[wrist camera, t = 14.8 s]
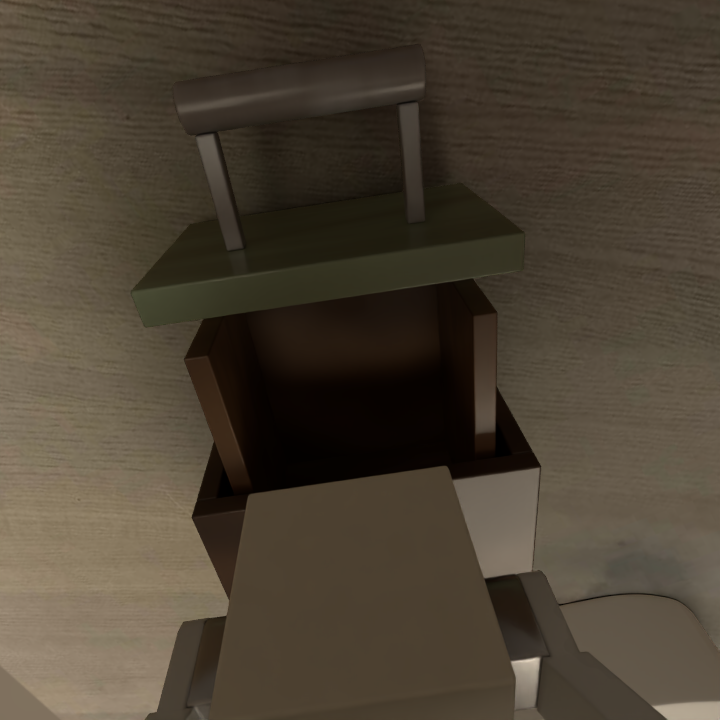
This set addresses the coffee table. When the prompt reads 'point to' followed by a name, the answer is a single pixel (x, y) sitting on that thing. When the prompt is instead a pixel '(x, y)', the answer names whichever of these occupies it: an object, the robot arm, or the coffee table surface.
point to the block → (361, 608)
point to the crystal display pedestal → (649, 652)
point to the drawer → (335, 294)
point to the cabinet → (471, 479)
